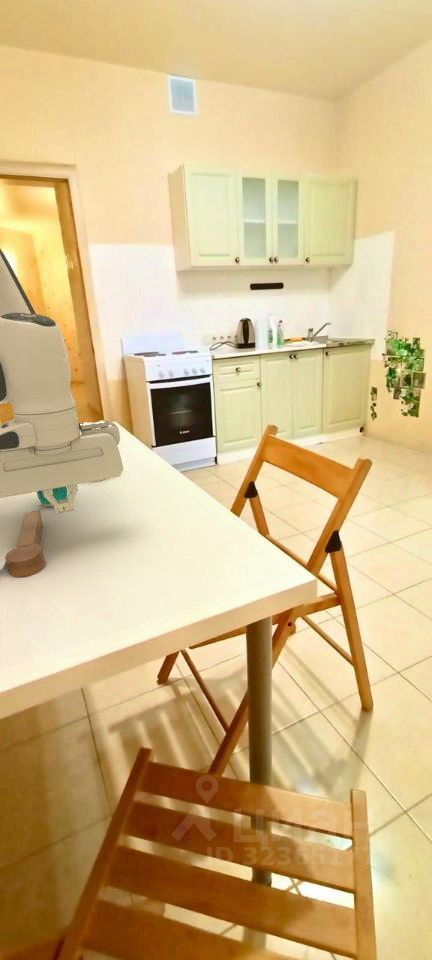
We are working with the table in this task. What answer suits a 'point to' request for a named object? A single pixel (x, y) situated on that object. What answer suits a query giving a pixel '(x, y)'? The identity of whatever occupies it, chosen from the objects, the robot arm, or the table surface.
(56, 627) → the table surface
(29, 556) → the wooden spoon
